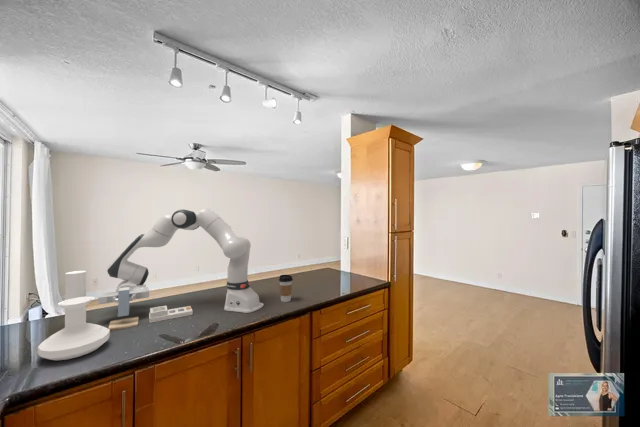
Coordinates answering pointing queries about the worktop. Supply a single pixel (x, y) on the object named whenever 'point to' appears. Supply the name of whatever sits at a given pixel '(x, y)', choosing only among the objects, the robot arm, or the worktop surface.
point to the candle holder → (74, 333)
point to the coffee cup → (285, 287)
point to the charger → (123, 301)
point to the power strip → (168, 313)
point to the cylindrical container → (74, 286)
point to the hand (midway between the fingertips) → (123, 300)
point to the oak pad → (123, 323)
